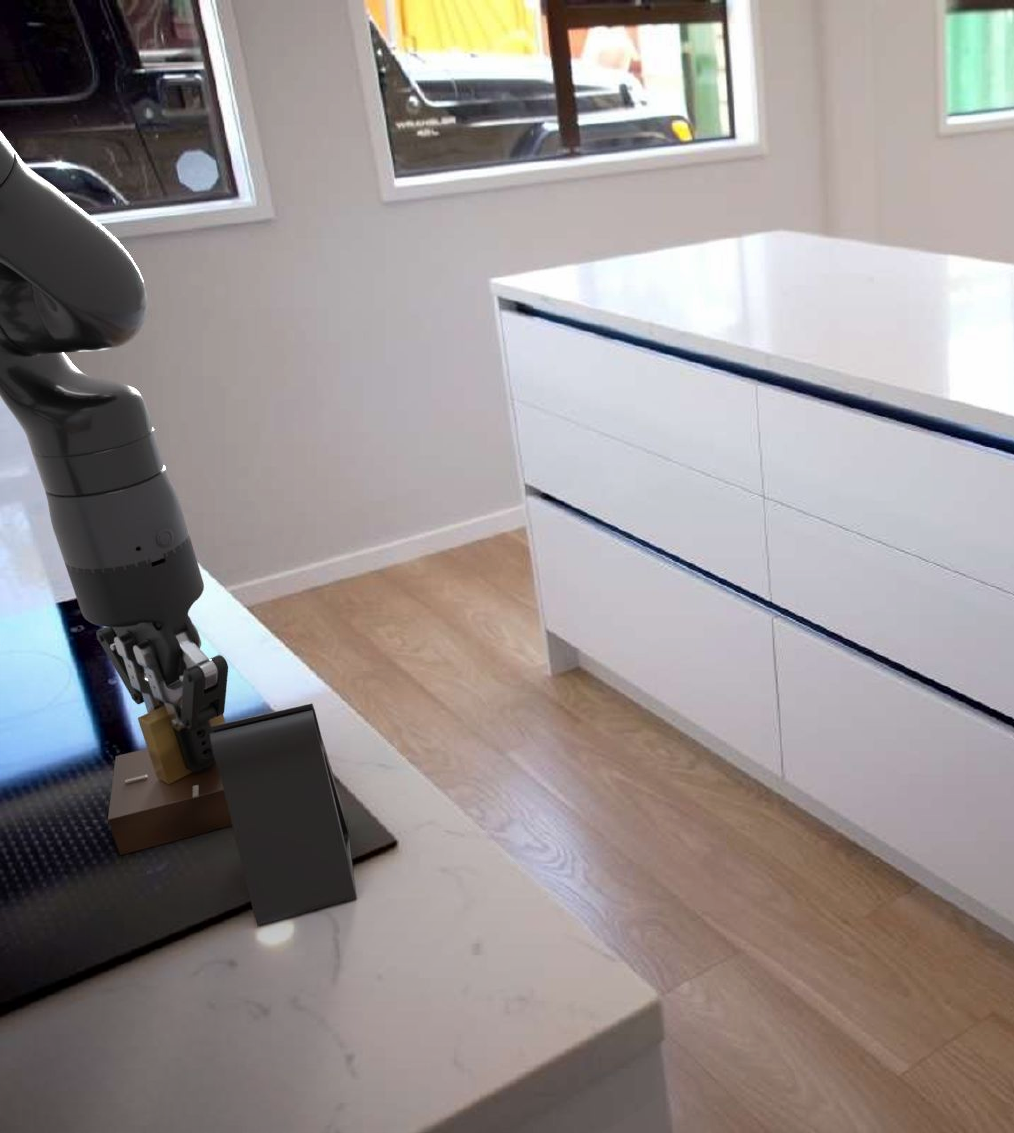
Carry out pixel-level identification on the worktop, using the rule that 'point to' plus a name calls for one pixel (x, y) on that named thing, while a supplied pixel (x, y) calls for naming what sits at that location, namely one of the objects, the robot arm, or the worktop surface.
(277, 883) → the phone stand
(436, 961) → the worktop surface
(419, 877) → the worktop surface
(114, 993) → the worktop surface
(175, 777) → the lock knob
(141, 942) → the worktop surface
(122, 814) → the plate
